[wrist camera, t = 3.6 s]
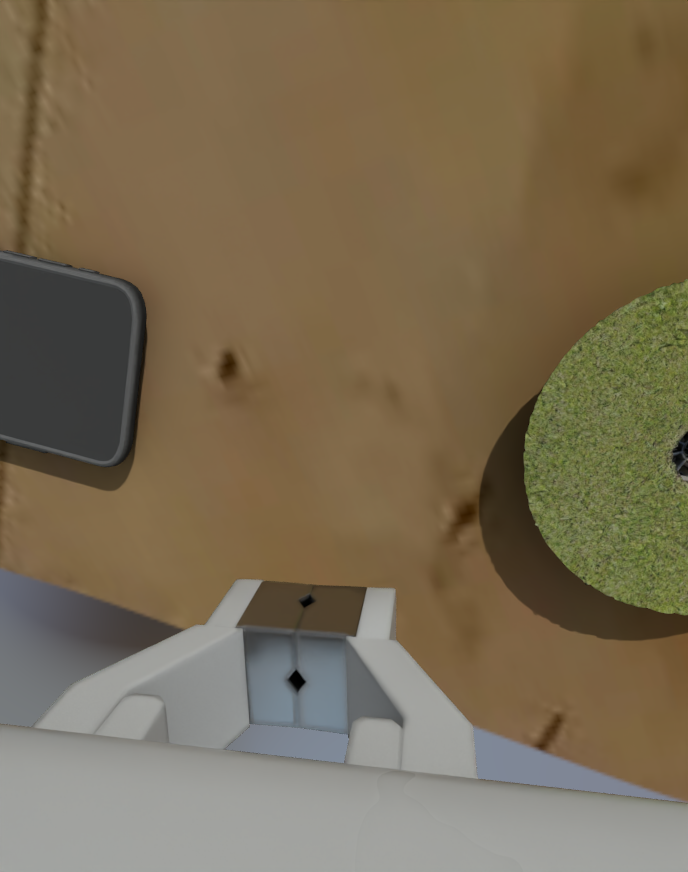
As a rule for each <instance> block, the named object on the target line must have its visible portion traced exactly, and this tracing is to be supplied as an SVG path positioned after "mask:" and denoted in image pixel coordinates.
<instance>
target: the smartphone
mask: <svg viewBox="0 0 688 872" xmlns="http://www.w3.org/2000/svg"><path fill="white" fill-rule="evenodd" d="M99 273H100V272H97V271H93V270H89V269H84V268H79V269H77V268H73V267H72V266H71V265H67V264H63V263H59V262H55V261H50V260H46V259H37V257H33V256H29V255H25V254H21V253H16V252H12V251H8V250H6V251H0V439H1V440H5V441H6V443H10V444H13V445H17V446H21V447H24V448H28V449H32V450H36V451H39V452H43V453H48V452H49V453H53V454H56V455H60V456H64V457H68V458H71V459H75V460H79V461H82V462H86V463H90V464H94V465H97V466H101V467H111V466H116V465H118V464H120V463H121V462H123V461H124V460H125V458H126V457H127V456H128V454H129V452H130V450H131V447H132V444H133V436H134V426H135V416H136V407H137V398H138V389H139V379H140V370H141V361H142V352H143V343H144V335H145V326H146V307H145V302H144V299H143V297H142V294H141V292H140V291H139V290H138V288H137V287H136V286H134V285H133V284H132V283H130V282H128V281H126V280H123V279H119V278H115V277H111V276H107V275H102V274H99Z"/></svg>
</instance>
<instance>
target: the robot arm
mask: <svg viewBox="0 0 688 872" xmlns="http://www.w3.org/2000/svg"><path fill="white" fill-rule="evenodd" d="M249 724H257V725H268V726H282V727H295V728H304V729H311V730H319V731H327V732H333V733H340V734H348V738H349V742H348V747H347V752H346V756H345V761H344V763H336V762H328V761H319V760H310V759H302V758H293V757H284V756H276V755H267V754H258V753H250V752H241V751H232V750H224V749H225V748H226V747H227V746H229V745H230V744H231V743H232V742H233V741H234V740H235V739H236V738H237V737H239V736H240V735H241V734H242V733H243V732H244V731H245V730H247V729H248V728H249V727H250V725H249ZM0 872H688V803H684V802H675V801H667V800H658V799H649V798H640V797H631V796H623V795H615V794H606V793H597V792H589V791H579V790H571V789H562V788H554V787H546V786H537V785H528V784H519V783H510V782H502V781H493V780H485V779H478V778H477V767H476V757H475V745H474V734H473V725H472V724H471V723H470V722H469V721H468V720H467V719H466V718H465V716H464V715H463V714H462V713H461V712H460V711H459V710H458V709H457V707H456V706H455V705H454V704H453V703H452V702H451V701H450V700H449V698H448V697H447V696H446V695H445V694H444V693H443V692H442V691H441V689H440V688H439V687H438V686H437V685H436V684H435V683H434V682H433V680H432V679H431V678H430V677H429V676H428V675H427V674H426V673H425V671H424V670H423V669H422V668H421V667H420V666H419V665H418V664H417V662H416V661H415V660H414V659H413V658H412V657H411V656H410V655H409V653H408V652H407V651H406V650H405V649H404V648H403V647H402V646H401V644H400V643H399V642H398V641H397V640H396V590H395V588H367V587H351V586H326V585H313V584H301V583H289V582H277V581H264V580H254V579H238V580H236V581H235V582H234V583H233V585H232V586H231V588H230V589H229V591H228V592H227V593H226V595H225V596H224V598H223V599H222V601H221V602H220V603H219V605H218V606H217V608H216V609H215V611H214V612H213V614H212V615H211V616H210V618H209V619H208V621H207V622H206V624H205V625H195V626H193V627H191V628H188V629H186V630H184V631H182V632H180V633H178V634H176V635H174V636H172V637H170V638H168V639H165V640H163V641H161V642H160V643H157V644H155V645H153V646H151V647H149V648H146V649H144V650H142V651H140V652H138V653H136V654H134V655H132V656H130V657H127V658H125V659H123V660H121V661H119V662H117V663H115V664H113V665H111V666H109V667H106V668H104V669H103V670H100V671H98V672H96V673H94V674H92V675H90V676H88V677H85V678H84V679H81V680H79V681H77V682H75V683H73V684H71V685H70V686H69V687H68V688H67V689H66V690H65V691H64V692H63V693H62V695H61V696H60V697H59V698H58V699H57V700H56V701H55V702H54V703H53V704H52V705H51V706H50V707H49V708H48V709H47V711H46V712H45V713H44V714H43V715H42V716H41V717H40V718H39V719H38V720H37V721H36V722H35V723H34V725H33V726H32V727H24V726H16V725H7V724H0Z"/></svg>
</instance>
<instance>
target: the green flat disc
mask: <svg viewBox="0 0 688 872" xmlns="http://www.w3.org/2000/svg"><path fill="white" fill-rule="evenodd" d="M524 449H525V450H526V451H525V452H524V469H525V472H524V484H525V486H526V493H527V496H528V501H529V508H530V511H531V512H532V516H533V519H534V520H535V521H536V523H535V525H536V526H538V527H539V530H540V532H541V534H542V536H543V538H544V540H545V542H546V543H547V544H548V546H549V547H550V548H551V549H552V551H553V552H554V553H555V554H556V556H557V557H558V558H559V559H560V560H561V561H562V563H563V564H564V565H565V566H566V567H567V568H568V569H569V570H571V571H572V572H573V573H574V574H575V575H577V576H578V577H579V578H580V579H582V580H583V581H584V583H585V584H586V585H589V584H591V585H592V587H594V588H595V589H597V590H599V591H601V592H602V593H604V594H605V595H606V596H611V597H614V599H615V600H618V601H621V602H624V603H626V604H631V605H634V606H636V607H642V608H650V609H652V610H655V611H658V612H662V613H666V614H672V613H677V614H681V615H688V279H685V281H684V282H680V283H678V284H677V283H673V284H672V285H670V286H665V287H660V288H658V289H656V290H654V291H653V292H652V293H649V294H647V295H644V296H641V297H638V298H637V299H635V300H633V301H632V302H631V303H629V304H627V305H625V306H623V307H621V308H619V309H617V310H616V311H614V312H613V313H612V314H610V315H609V316H608V317H606V318H605V319H604V320H601V321H599V322H598V323H597V325H596V326H595V327H593V328H591V329H590V330H589V331H588V332H587V333H586V334H585V335H584V336H583V337H582V338H581V339H580V340H578V341H577V342H576V343H575V345H574V346H573V347H572V349H571V350H570V351H569V352H568V353H567V354H566V355H565V356H564V357H563V359H562V360H561V362H560V363H559V365H558V366H557V367H556V369H555V370H554V372H553V373H552V374H551V376H550V378H549V379H548V381H547V382H546V384H545V385H544V387H543V390H542V392H541V394H540V395H539V397H538V401H537V402H536V404H535V407H534V411H533V413H532V415H531V417H530V424H529V426H528V431H527V432H526V436H525V446H524Z"/></svg>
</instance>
